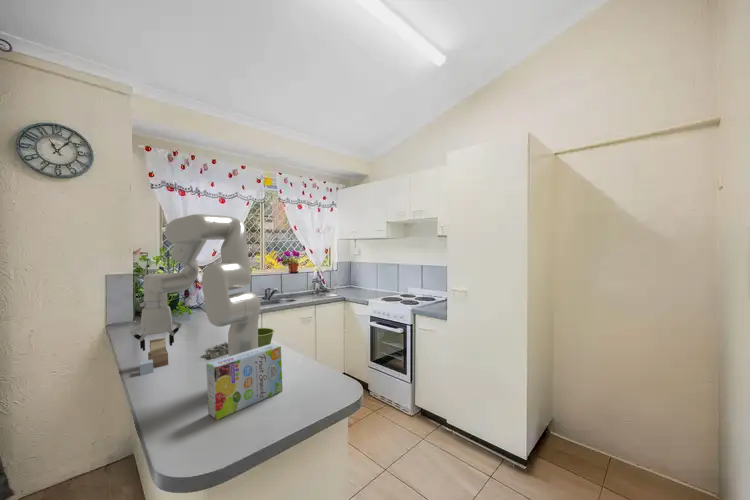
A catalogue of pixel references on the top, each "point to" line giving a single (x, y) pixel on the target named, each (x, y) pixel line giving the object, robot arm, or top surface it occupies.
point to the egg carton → (217, 350)
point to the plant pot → (264, 336)
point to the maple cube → (157, 346)
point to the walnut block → (159, 359)
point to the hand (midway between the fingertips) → (157, 347)
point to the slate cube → (146, 367)
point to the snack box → (243, 379)
